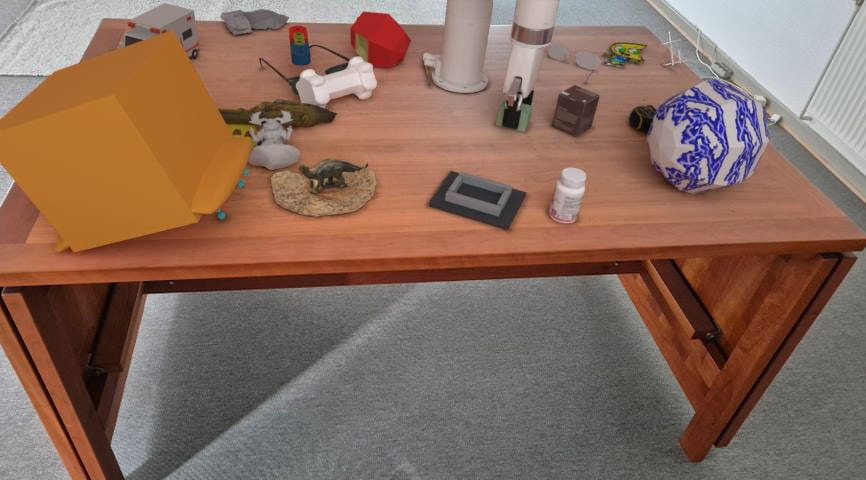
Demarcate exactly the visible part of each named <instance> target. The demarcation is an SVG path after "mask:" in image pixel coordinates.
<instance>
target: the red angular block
mask: <svg viewBox="0 0 866 480" xmlns="http://www.w3.org/2000/svg"><path fill="white" fill-rule="evenodd" d="M349 29H350V33H349V34H350V35H349V37H350V38H349V39H350V46H351V47H352V48H353V49H354V50H355V52H356V53H357V54H358V56H359V57H362V59H363V61H365V62H367V63H371V64H372V65H373V67H377V68H390V69H391V68H393V67H394V66H396V65H398V64H399V63H401V62H403V61H404V59H405V57H406V55H407V52H408V50H409V47H410V45H411V42H412V39H411V38H410V36H409V35H408V34H407V33H406V31H405V30H404V28H403V27H402V26H401V25H400V23H398V21H397V20H396V19H395V18H394V17H393V16H392V15H391V14H389V13H383V12H375V11H374V12H373V11H362V12H361V13H360V15H359V16H357V17H356V19H355V21H354V22H353V23H352V25H351V27H350V28H349Z"/></svg>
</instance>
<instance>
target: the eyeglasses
mask: <svg viewBox="0 0 866 480" xmlns="http://www.w3.org/2000/svg"><path fill="white" fill-rule="evenodd" d="M571 53H575V55H574V60H575V62H576V64H577V65H578V67H580V68H582V69H585V70H588V71H592V72H590V74H589V75H588V76H587V79H586V80H585V83H584V84H586V82H587V81H588V79H589V77H590V76H591V75H592V74H593V73H594V71H595V70H596V69H597V68H598V67H599V66H600V64H601V63H602V59H600V56H598V55H596V54H594V53H592V52H588V51H584V50H578V51H574V50H571V48H570V47H569V46H567V45H565V44H562V43H557V42H553V41H551V44H550V45H549V46H547V54H548V56H549V57H550V58H551V59H554V60H557V61H560V62H565V61H566V60H568V59H569V57H570V54H571Z"/></svg>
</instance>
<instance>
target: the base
mask: <svg viewBox="0 0 866 480" xmlns="http://www.w3.org/2000/svg"><path fill="white" fill-rule="evenodd" d="M526 196H527V192H526V191H524V190H520V189H516V188H514V186H512V185H509V184H505V183H502V182H498V181H496V180H492V179H488V178H484V177H482V176H478V175H474V174H471V173H467V172H464V171H459V172H457V171H454V170H450V171H449V173H448V174H447V176H446V177H445V179H444V180H443V181H442V183H441V184H440V185H439V187H438V189H437V190H436V192H435V193H434V195H433V196H432V197H431V198H430V200H429V201H428V207H430V208H434V209H436V210H440V211H444V212H447V213H450V214H452V215H457V216H460V217H463V218H467V219H470V220H473V221H477V222H479V223H483V224H487V225H489V226H492V227H493V226H494V227H496V228H500V229H502V230H506V231H509V230H510V227H511V225H512V224H513V221H514V220H515V217H516V215H517V213H519V212H518V211H519V210H520V208H521V205H522V204H523V201H524V200H525V197H526Z"/></svg>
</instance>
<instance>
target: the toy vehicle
mask: <svg viewBox="0 0 866 480" xmlns="http://www.w3.org/2000/svg"><path fill="white" fill-rule="evenodd" d="M127 26H128V27H130V30H128V31H126V32H125V33H124V34H123V35H124V36H123V42H121V41H119V49H120V48H123V47H126V46H129V45H132V44H134V43H137V42H140V41H143V40H146V39H149V38H152V37H155V36H157V35H160V34H163V33H166V32H169V31H172V30H173V31H174V33H175V34H176V36H177V38H178V40H179V41H180V43H181V45H182V47H183V48H184V50H185V52H186V54H187V56H188V57H189V58H190V57H191V58H192V59H197V58H198V56H199V52H200V45H199V37H198V30H197V21H196V15H195V9H191V8H190V9H189V8H187V7H182V6H178V5H175V4H171V3H167V2H165V3H162V4H160V5H158V6H156V7H154V8H151V9H149V10H147V11H146V12H143V13H141V14H140V15H137V16H135V17H133V18H131V19H129V21H128V22H127Z"/></svg>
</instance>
